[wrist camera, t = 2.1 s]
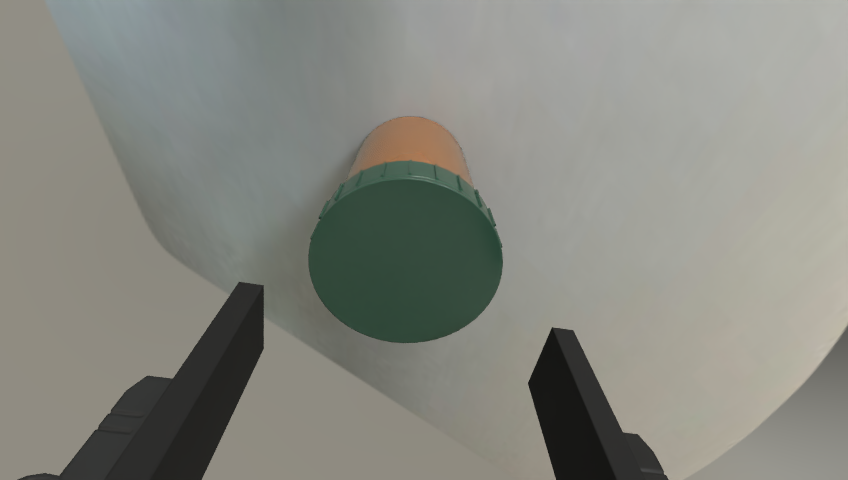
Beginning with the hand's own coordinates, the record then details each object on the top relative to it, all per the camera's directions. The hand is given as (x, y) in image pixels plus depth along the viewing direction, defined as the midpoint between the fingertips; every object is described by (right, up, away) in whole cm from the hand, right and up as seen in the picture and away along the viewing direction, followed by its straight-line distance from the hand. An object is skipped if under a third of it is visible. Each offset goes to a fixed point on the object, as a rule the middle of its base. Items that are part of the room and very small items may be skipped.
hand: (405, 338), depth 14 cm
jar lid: (0, +2, +4) cm, 4 cm away
